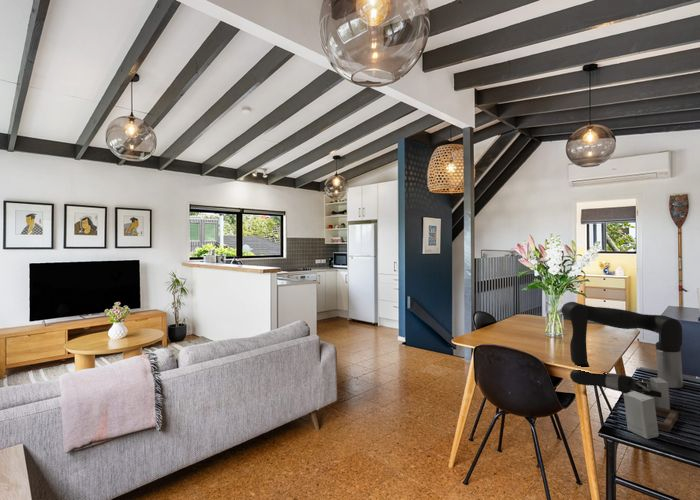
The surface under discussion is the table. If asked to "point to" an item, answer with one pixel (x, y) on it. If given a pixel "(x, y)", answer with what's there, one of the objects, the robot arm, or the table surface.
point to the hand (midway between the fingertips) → (663, 391)
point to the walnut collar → (670, 419)
